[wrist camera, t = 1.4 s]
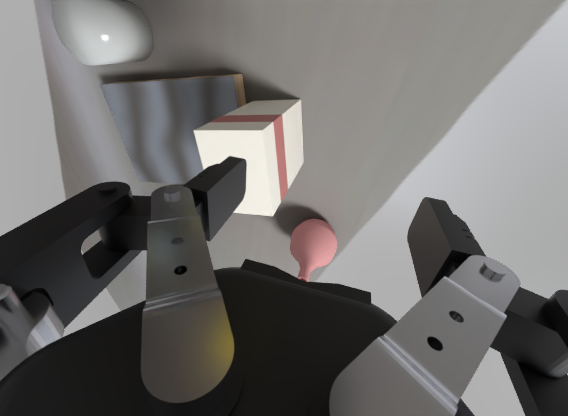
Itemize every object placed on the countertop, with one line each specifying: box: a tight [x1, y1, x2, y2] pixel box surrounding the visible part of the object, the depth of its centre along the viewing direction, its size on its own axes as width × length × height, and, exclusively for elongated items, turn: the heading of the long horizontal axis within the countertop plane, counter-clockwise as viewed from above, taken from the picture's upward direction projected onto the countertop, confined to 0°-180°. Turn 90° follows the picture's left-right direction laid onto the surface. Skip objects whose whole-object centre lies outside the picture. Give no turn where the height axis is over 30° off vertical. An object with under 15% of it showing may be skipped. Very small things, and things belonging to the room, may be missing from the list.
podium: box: [100, 74, 246, 184], centre depth 41 cm, size 22×16×3 cm
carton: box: [193, 99, 303, 216], centre depth 32 cm, size 7×9×15 cm
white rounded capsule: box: [52, 0, 153, 65], centre depth 33 cm, size 7×7×8 cm
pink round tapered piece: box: [290, 219, 337, 282], centre depth 40 cm, size 8×8×12 cm
